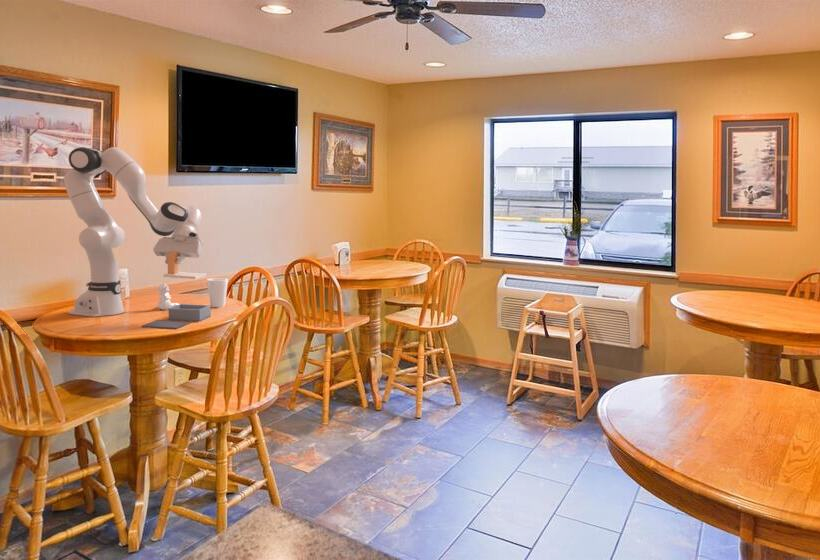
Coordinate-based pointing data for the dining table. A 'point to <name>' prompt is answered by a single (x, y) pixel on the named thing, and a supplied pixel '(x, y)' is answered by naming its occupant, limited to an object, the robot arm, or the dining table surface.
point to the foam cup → (217, 291)
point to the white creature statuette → (164, 298)
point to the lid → (174, 269)
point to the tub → (189, 312)
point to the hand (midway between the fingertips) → (172, 263)
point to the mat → (166, 324)
